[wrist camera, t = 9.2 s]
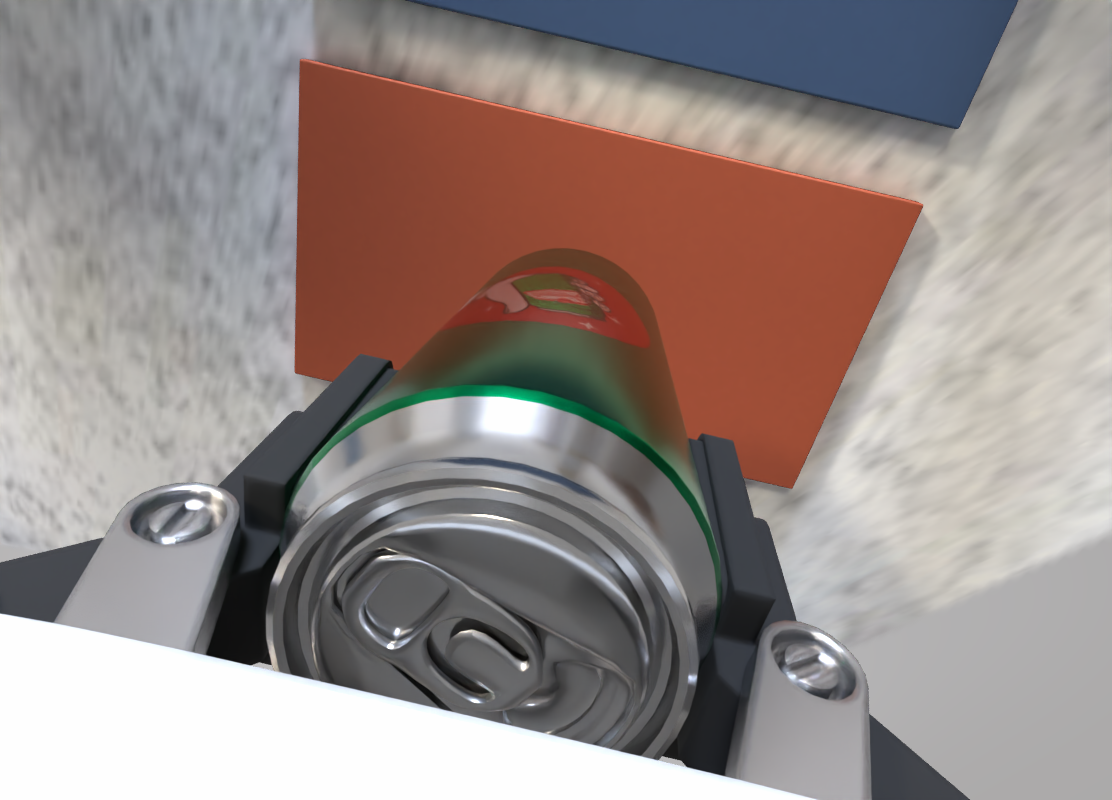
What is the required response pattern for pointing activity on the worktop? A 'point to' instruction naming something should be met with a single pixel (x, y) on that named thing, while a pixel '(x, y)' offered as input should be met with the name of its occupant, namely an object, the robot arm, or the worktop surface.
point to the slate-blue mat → (793, 43)
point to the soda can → (513, 522)
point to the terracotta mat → (586, 247)
